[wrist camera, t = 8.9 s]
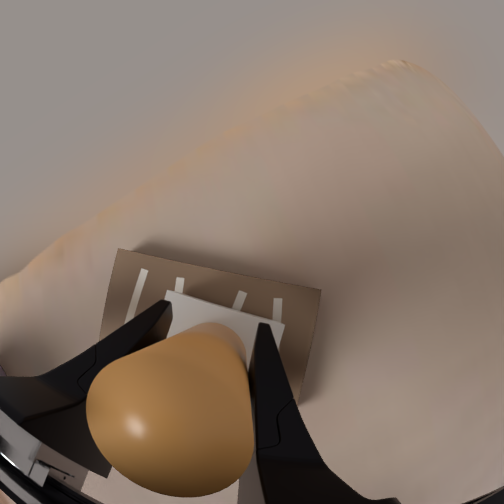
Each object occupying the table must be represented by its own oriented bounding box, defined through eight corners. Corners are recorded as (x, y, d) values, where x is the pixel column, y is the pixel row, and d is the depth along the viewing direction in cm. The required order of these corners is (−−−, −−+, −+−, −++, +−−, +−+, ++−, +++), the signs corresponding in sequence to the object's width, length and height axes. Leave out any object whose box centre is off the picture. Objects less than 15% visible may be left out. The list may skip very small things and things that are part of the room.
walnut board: (290, 409, 15) (293, 417, 14) (106, 361, 16) (96, 364, 15) (315, 291, 17) (321, 289, 16) (127, 253, 18) (118, 248, 16)
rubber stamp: (254, 400, 14) (275, 536, 3) (156, 370, 14) (41, 452, 4) (278, 321, 15) (357, 357, 4) (178, 291, 15) (61, 264, 5)
